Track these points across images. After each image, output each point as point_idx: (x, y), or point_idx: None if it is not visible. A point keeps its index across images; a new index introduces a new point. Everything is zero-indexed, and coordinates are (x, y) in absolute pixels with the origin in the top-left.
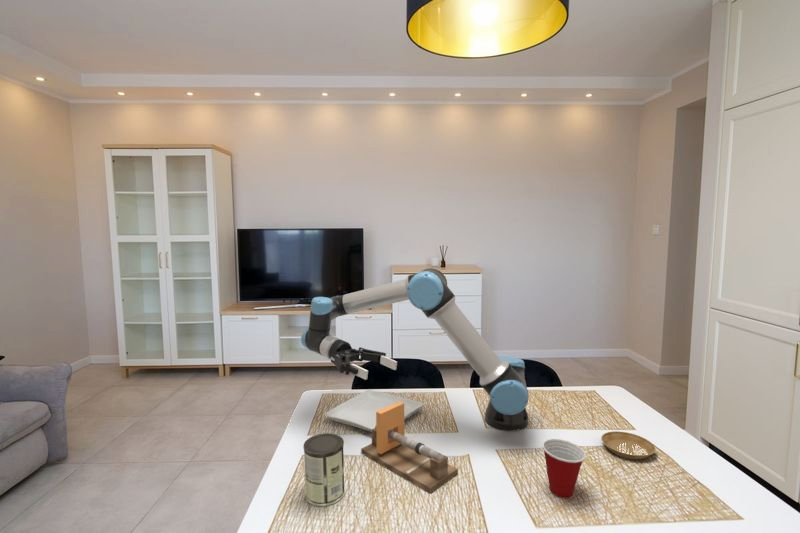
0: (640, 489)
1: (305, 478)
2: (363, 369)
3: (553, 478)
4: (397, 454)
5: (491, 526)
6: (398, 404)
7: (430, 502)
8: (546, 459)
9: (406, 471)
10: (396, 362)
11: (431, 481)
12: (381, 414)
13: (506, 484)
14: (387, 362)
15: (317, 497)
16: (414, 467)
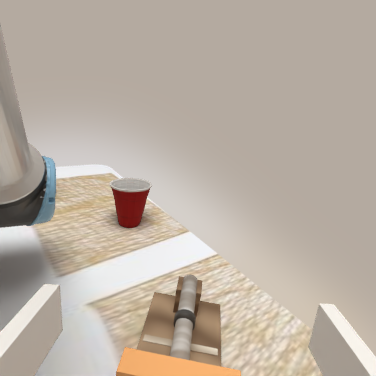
0: (100, 193)
1: None
2: (347, 326)
3: (142, 210)
4: None
5: (214, 251)
6: (142, 360)
7: (232, 303)
8: (140, 199)
9: (215, 354)
10: (53, 287)
11: (206, 309)
12: (236, 372)
13: (144, 253)
14: (14, 372)
15: None
16: (195, 348)
